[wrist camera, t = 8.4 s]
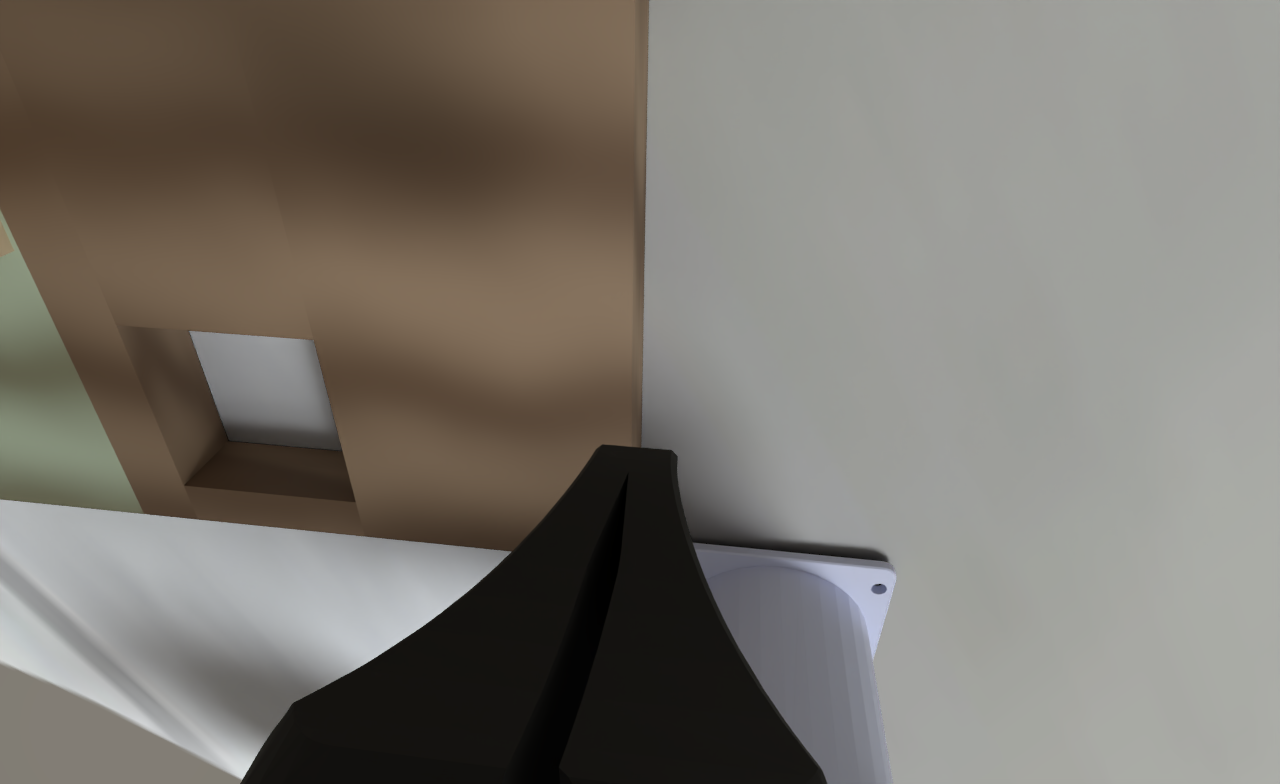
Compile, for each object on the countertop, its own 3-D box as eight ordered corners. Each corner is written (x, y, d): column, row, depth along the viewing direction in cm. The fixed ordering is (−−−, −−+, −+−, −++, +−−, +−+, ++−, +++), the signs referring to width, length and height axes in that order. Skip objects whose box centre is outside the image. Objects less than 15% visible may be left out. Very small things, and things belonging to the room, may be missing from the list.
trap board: (640, 511, 26) (630, 563, 24) (20, 452, 28) (-39, 495, 26) (657, -525, 13) (640, -612, 11) (-499, -473, 15) (-700, -537, 13)
